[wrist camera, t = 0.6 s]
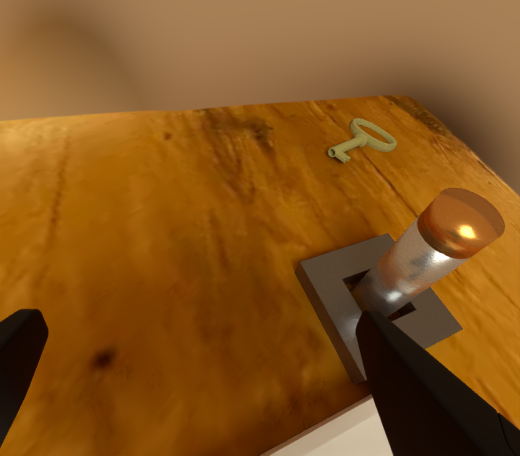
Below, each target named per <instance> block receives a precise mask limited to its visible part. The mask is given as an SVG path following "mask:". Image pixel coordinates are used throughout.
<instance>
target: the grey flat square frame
mask: <svg viewBox="0 0 520 456" xmlns="http://www.w3.org/2000/svg"><path fill="white" fill-rule="evenodd" d="M394 243H395V242H394V240H393V239H392V238H391V236H390V235H389V234H388V233H387V234H384V235H381V236H378V237H375V238H372V239H369V240H366V241H362V242H359V243H356V244H353V245H350V246H347V247H344V248H341V249H338V250H335V251H332V252H329V253H326V254H323V255H320V256H317V257H314V258H311V259H308V260H305V261H302V262H300V263H299V265H298V267H297V269H296V271H295V274H296V276H297V278H298V279H299V281H300V283H301V285H302V287H303V289H304V291H305V293H306V295H307V296H308V298H309V300H310V302H311V304H312V306H313V308H314V310H315V311H316V313H317V315H318V317H319V319H320V321H321V323H322V325H323V327H324V328H325V330H326V332H327V334H328V336H329V338H330V340H331V342H332V344H333V345H334V347H335V349H336V351H337V353H338V355H339V357H340V359H341V360H342V362H343V364H344V366H345V368H346V370H347V372H348V374H349V376H350V377H351V379H352V381H353V383H354V385H355V384H358V383H360V382H363V381H365V380H367V378H366V375H365V371H364V367H363V362H362V358H361V354H360V350H359V346H358V342H357V338H356V333H355V329H356V325H357V323H358V320H359V318H360V316H361V314H362V311H361V309H360V308H359V306H358V305H357V303H356V301H355V300H354V298H353V297H352V295H351V293H350V292H349V290H348V288H347V287H346V284H348V283H351V282H354V281H356V280H359V279H362V278H363V277H364V276H365V275H366V274H367V273H368V272H369V270H370V269H371V268H372V267H373V266H374V265H375V264H376V263H377V262H378V261H379V259H380V258H381V257H382V256H383V255H384V254H385V253H386V252H387V251H388V250H389V248H390V247H391V246H392V245H393V244H394ZM398 310H399V312H400V313H401V314H402V317H400V318H398V319H396V320H394V321H392V322H393V323H394V324H395V325H396V326H398V327H399V328H400V329H401V330H402V331H403V332H405V333H406V334H407V335H408V336H409V337H410V338H412V339H413V340H414V341H415V342H416V343H418V344H419V345H420V346H421V347H422V348H423V349H426V348H428V347H430V346H432V345H434V344H436V343H437V342H439V341H441V340H443V339H445V338H447V337H449V336H451V335H453V334H455V333H456V332H458V331H460V330H462V329H463V328H462V327H461V326H460V324H459V323H458V322H457V321H456V319H455V318H454V317H453V316H452V314H451V313H450V312H449V310H448V309H447V308H446V307H445V305H444V304H443V303H442V302H441V300H440V299H439V298H438V296H437V295H436V294H435V293H434V291H433V290H432V289H431V287H429V288H428V289H426V290H425V291H423V292H422V293H421V294H419V295H418V296H417V297H415V298H414V299H412V300H411V301H410V302H408V303H407V304H405V305H404V306H403V307H401V308H400V309H398Z"/></svg>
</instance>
